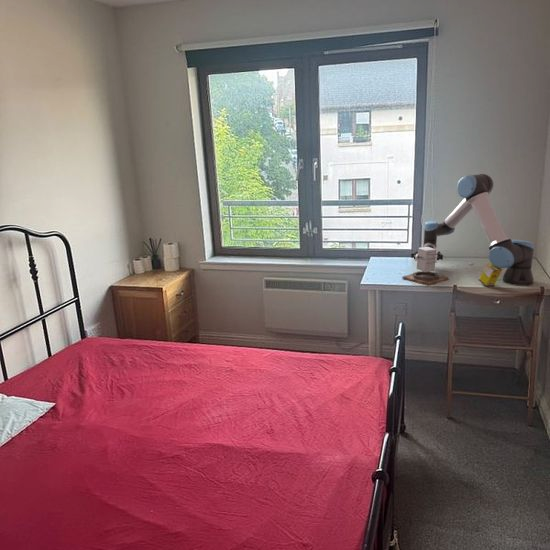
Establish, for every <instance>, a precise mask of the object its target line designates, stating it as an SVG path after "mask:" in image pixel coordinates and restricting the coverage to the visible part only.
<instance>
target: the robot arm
mask: <svg viewBox="0 0 550 550" xmlns="http://www.w3.org/2000/svg"><path fill="white" fill-rule="evenodd" d="M456 185H457V186H456V192H457V194H458V195H459V196H460V197H461V198H463V199H462V200H461V201H460V202H459V204H458V205H456V207H455V208H454V209H453V210H452V211H451V212H450V213H449V215H448V216H447V217H446V218H444V220H443V221H442V222H441V223H438V222H437V221H425V223H424V229H423V230H424V231H423V243H422V245H423V246H422V247H430V248H433V249H436V250H437V247H438V246H437V242H438V241H437V240H438V239H437V238H438V237H441V236H448V235H451V234H453V233H455V229H456V226H457V225H458V224H459V223H461V221H462V220H463V219H464V218H465V217H466V216H467V215H468V214H469V213H471V211H472V210H473V211H474V213H475V215H476V217H477V219H478V221H479V224H480V225H481V227H482V230H483V232H484V234H485V236H486V238H487V240H488V243H489V245H488V249H489V252H488V260H489V262H490V264H492V265H494V266H495V267H497V268H501V269H506V270H505V272H504V275H503V276H502V281H503V282H504V283H505V284H508V283H510V284H509V285H513V284H516V285H515V286H531V285H534V279H535V278H534V275H533V271H532V267H533V259H534V250H535V248H534V247H535V243H534V242H532V241H528V240H524V239H523V240H522V239H511V238H510V237H507V236H506V233H505V232H504V230H503V227H502V226H501V225H502V224H500V221H499V219H498V217H497V215H496V213H495V211H494V208H493V207H492V204H491V203H490V200H489V198H488V196H489V195H491V193H492V191H493V188H494V180H493V178H492V177H491V176H489V175H488V174H485V173H480V174H468V175H465V176H463V177H461V178H460V179H459V180H458V182H457V184H456ZM417 257H418V249H417V250H415V251H413V252H411V254H410V258H411V259H412V258H413V260H414V262H417ZM443 259H444V255H443V253H441V251H436V257H435V264H436V263H437V262H438V261H439V260H441V261H443ZM530 284H531V285H530Z"/></svg>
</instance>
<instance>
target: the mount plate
mask: <svg viewBox="0 0 550 550" xmlns="http://www.w3.org/2000/svg"><path fill="white" fill-rule="evenodd" d="M449 279H450V278H449V276H444V275H440V274H438V272H437V273H436V272H434V271H430V272H423V271H421V270H418V271H416V272H413V273H411V274H408V275H404V276H402V280H405V281H409V282H413V283H418V284H421V285H425V286H432V285H435V284H439V283H442V282H445V281H449Z"/></svg>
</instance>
